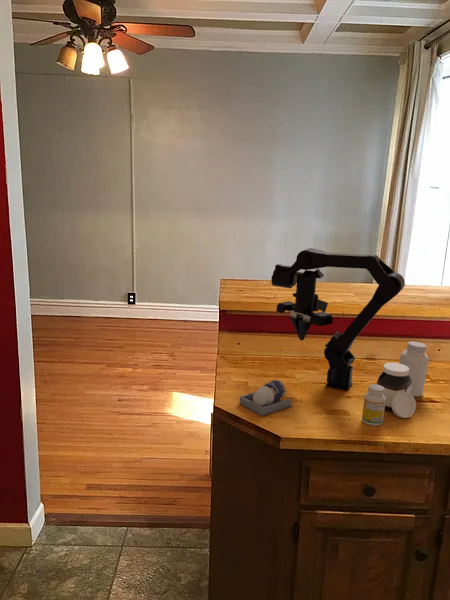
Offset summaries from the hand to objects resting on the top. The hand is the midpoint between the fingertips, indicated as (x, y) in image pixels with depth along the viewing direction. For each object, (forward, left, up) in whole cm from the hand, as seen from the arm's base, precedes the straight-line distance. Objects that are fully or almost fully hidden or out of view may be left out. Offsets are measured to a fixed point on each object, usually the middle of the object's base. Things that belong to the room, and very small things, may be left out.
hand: (301, 340), depth 166 cm
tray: (+1, +25, -12) cm, 28 cm away
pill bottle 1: (-1, +19, -9) cm, 21 cm away
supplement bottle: (-27, +19, -12) cm, 35 cm away
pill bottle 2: (-32, -6, -12) cm, 35 cm away
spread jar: (-31, +8, -12) cm, 34 cm away
